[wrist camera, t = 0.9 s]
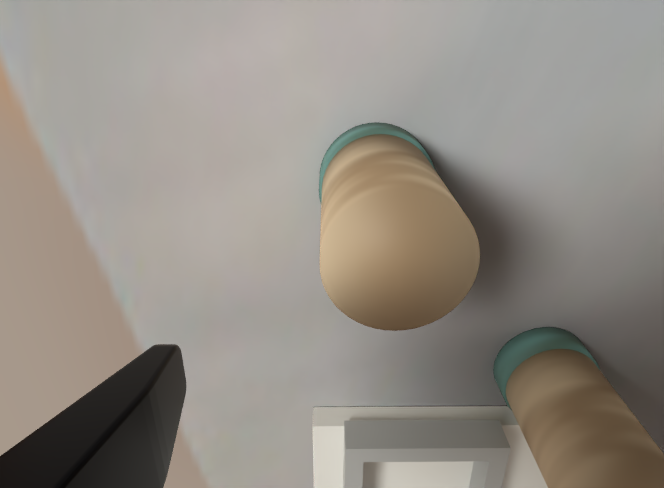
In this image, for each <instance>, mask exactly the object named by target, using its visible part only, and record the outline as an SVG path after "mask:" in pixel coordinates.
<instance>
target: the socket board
mask: <svg viewBox="0 0 664 488" xmlns="http://www.w3.org/2000/svg"><path fill="white" fill-rule="evenodd" d="M313 471H314V488H548V487H547V484H546V482H545V480H544V478H543V476H542V474H541V472H540V469H539V467H538V465H537V463H536V461H535V459H534V457H533V454H532V452H531V450H530V448H529V446H528V444H527V442H526V439H525V437H524V435H523V433H522V431H521V429H520V427H519V424H518V422H517V420H516V418H515V416H514V414H513V412H512V410H511V409H510V408H509V407H508V406H434V407H313Z"/></svg>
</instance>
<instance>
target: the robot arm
mask: <svg viewBox="0 0 664 488" xmlns="http://www.w3.org/2000/svg"><path fill="white" fill-rule="evenodd" d="M185 394H186V378H185V372H184V366H183V359H182V353H181V350H180V348H179V346H177V345H175V344H158V345H154V346H152V347H151V348H149V349H148V350H147V351H145V352H144V353H142V354H141V355H140V356H138V357H137V358H135V359H134V360H133V361H131V362H130V363H129V364H127V365H126V366H124V367H123V368H122V369H120V370H119V371H117V372H116V373H115V374H114V375H112V376H111V377H109V378H108V379H106V380H105V381H104V382H102V383H101V384H100V385H98V386H97V387H95V388H94V389H93V390H91V391H90V392H88V393H87V394H86V395H84V396H83V397H81V398H80V399H79V400H77V401H76V402H75V403H73V404H72V405H71V406H69V407H68V408H66V409H65V410H64V411H62V412H61V413H59V414H58V415H57V416H55V417H54V418H52V419H51V420H50V421H48V422H47V423H45V424H44V425H43V426H41V427H40V428H39V429H37V430H36V431H34V432H33V433H32V434H30V435H29V436H27V437H26V438H25V439H24V440H22V441H21V442H19V443H18V444H16V445H15V446H14V447H12V448H11V449H9V450H8V451H7V452H5V453H4V454H3V455H1V456H0V488H163V486H164V483H165V480H166V477H167V473H168V469H169V465H170V460H171V456H172V452H173V447H174V443H175V438H176V434H177V430H178V425H179V421H180V416H181V412H182V408H183V403H184V399H185Z"/></svg>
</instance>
